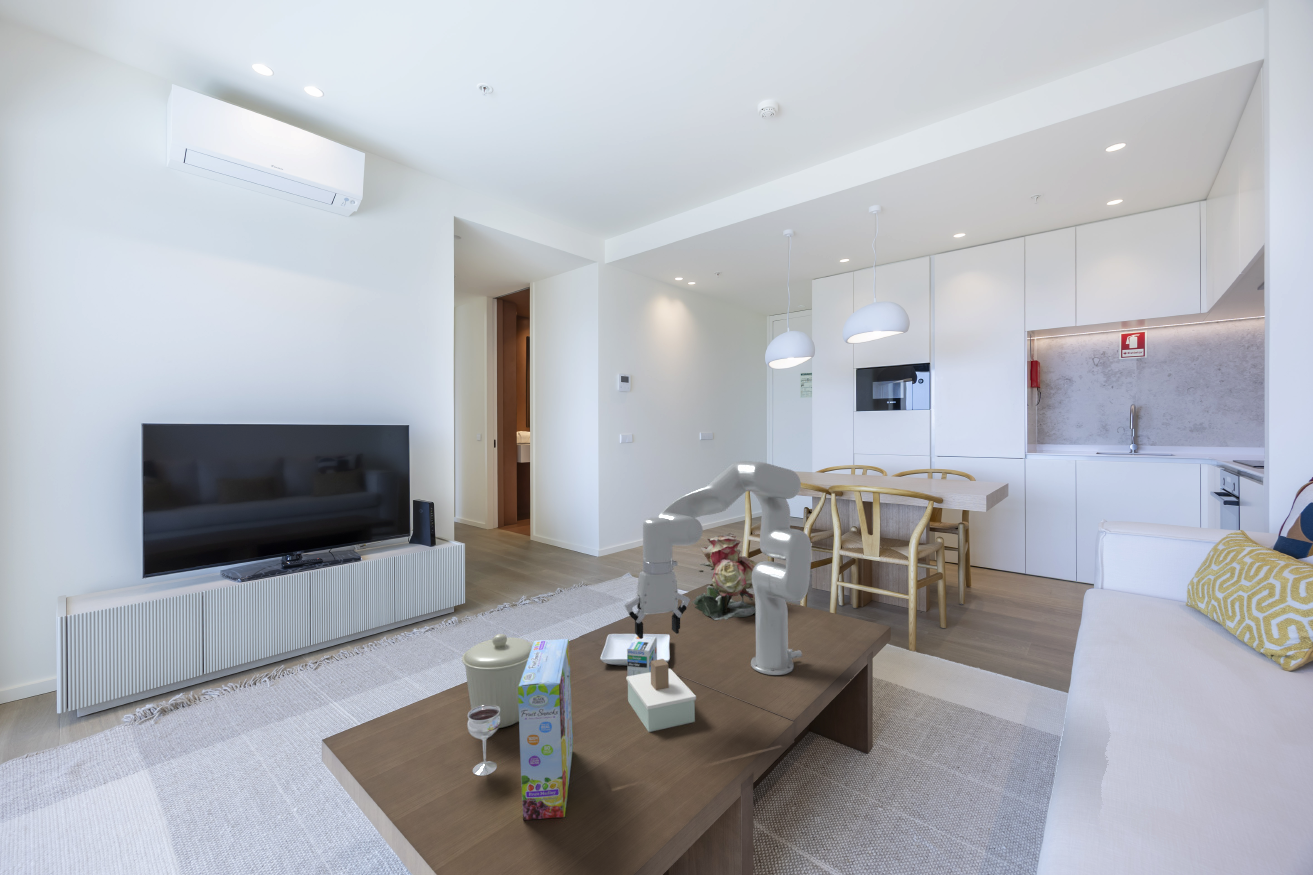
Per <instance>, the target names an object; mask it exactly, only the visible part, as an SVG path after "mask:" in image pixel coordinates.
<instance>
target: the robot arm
mask: <svg viewBox="0 0 1313 875" xmlns="http://www.w3.org/2000/svg"><path fill="white" fill-rule="evenodd" d="M801 484H802V483H801V478H800V477H799V475H798V474H797V472H795V471H794V470H792V469H789V468H785V467H781V466H778V465H774V464H771V463H767V462H763V461H747V460H738V461H734V462H733V463H732V464H730V465H729V466H728V467H727V468H725V469H724V470H723V471H722V472H721V473H719V475H717V476H716V477H715V478H713V479H712V480H711V481H710V482H709V483H708V484H707V485H705V486H704V487H701V488H699V489H697V490H694V491H692V492H690V493H688V494H685V495H683V496H681V497H679V498H677V499H676V500H674V501H673V502H672V503H670V504H669V505H668V506H667V507H666V508H664V509H663V510H662V511H660V513H659V514H658V516H656V517H649V518H647V519H644V521H643V524H642V571H640V572H639V574H638V580H637V588H636V596H635V597H634V598H633V599H631V600H629V601H628V602H627V603H625V604H624V608H625V610H626V612H627V615H629V617H630V618H631V619H633V620H634V634H636V635H637V636H638V637H639V638H640V639H642V638H643V634H644V623H643V622H642V621H643V619H644V618H645V617H646V616H647V615H655V614H663V613H664V614H665V613H670V612H672V615H671V631H672V632H674V634H676V635H677V634H679V633H680V629H681V618H682V616H683V614H684V613H685V612H686V610H687V607H688V605H689V603H690V601H691V599H690V598H689V597H688V596H685V595H683V594H681V593H679V590H678V583H677V576H676V572H675V571H674V568H675V567H677V566H678V561H677V560H674V559H673V557H674V556H673V550H674V549H673V547H674V546H693V545H695V544H696V543H698V542H699V541H700V540H701V539H702V536H703V532H704V530H703V525H702V524H701V522H700V520H698V519H697V518H700V517H704V516H710V515H716V514H720V513H723V512H725V511H726V510H728V508H730V507H731V506H732V505H734V503H735V502H737V500H739V498H741V496H743V495H744V494H745V493H747V492H752V493H753V494H754V495H755V497H756V498H757V500H758V502H759V505H760V509H761V520H760V532H759V533H760V534H759V549H760V551H761V553H762V554H763V555H765V556H767V557H769V558H773V559H777V560H780V561H781V560H782V561H785V564H784V563H779V562H776V561H771V560H764V561H760V562H757V565H756V566H755V567H754V569H753V571H752V585H753V588H752V589H753V594H754V595H753V596H754V604H755V605H754V606H755V609H756V612H755V656H754V657H752V659H751V661H750V666H751V667H752V669H753V670H754V671H756V672H759V673H761V674H763V675H769V676H782V675H787V674H790V673H791V672H793V670H794V662H793V660H794V659H797V658H798V659H799V658H801V657H803V656H802V655H803V653H802V651H801V650H800V649H799V650H793V648H789V637H788V636H789V633H788V632H789V629H788V628H789V627H788V626H789V625H788V622H789V621H788V620H789V618H788V616H789V614H788V613H789V612H788V606H787V602H786V600H787V601H790V602H799V601H802V600H803V599H804V598H805V597H807V596H806V595H807V593H808V591H809V587H810V580H811V579H810V577H811V566H812V542H811V538H810V537H809V536H808V534H807V533H806V532H804V531H802V530H800V529H795V528H791V522H790V521H791V509H790V504H789V502H788V500H791V499H794V498H795V497H797V495H799V493H800V491H801ZM679 600H680V601H682V602H681V604H680V605H679ZM634 607H636V609H637V611H636V612H634V610H633V608H634Z"/></svg>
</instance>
